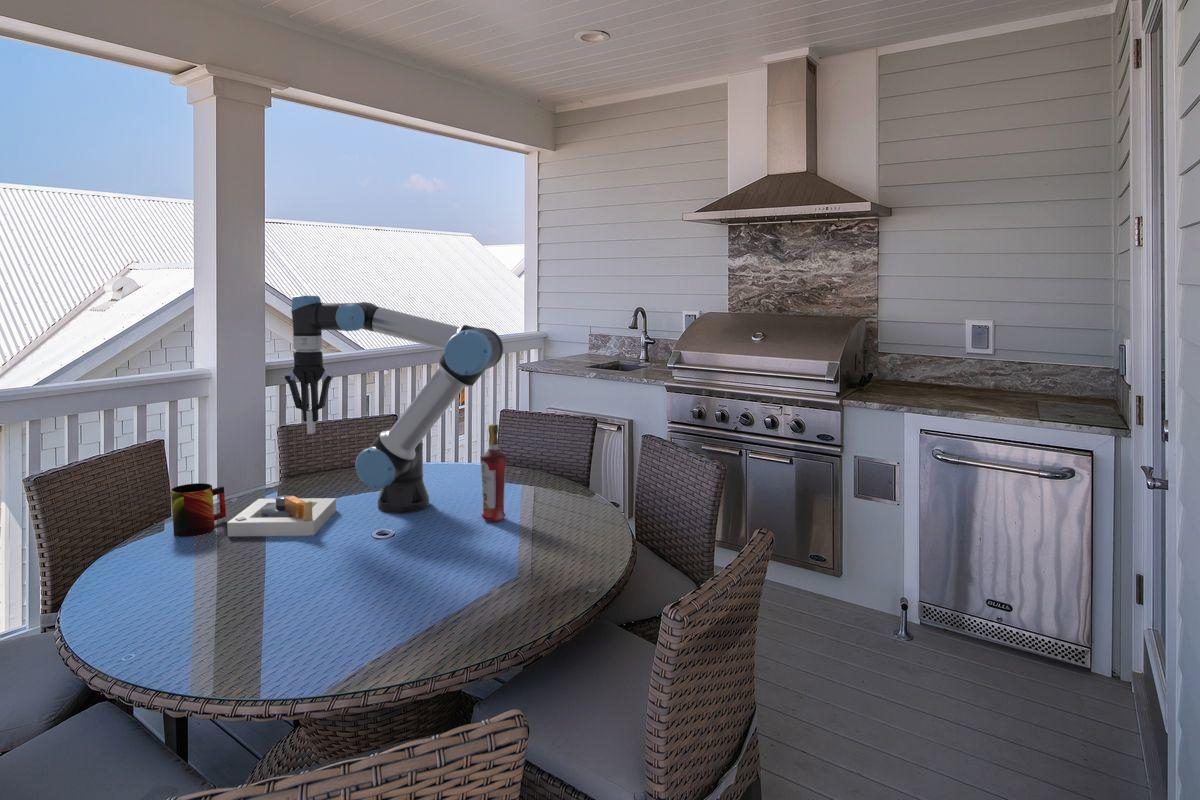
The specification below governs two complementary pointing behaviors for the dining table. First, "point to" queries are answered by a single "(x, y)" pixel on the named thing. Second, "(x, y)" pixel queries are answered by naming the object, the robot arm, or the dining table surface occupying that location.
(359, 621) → the dining table surface
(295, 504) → the dial
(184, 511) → the mug
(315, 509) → the housing
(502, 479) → the liquor
